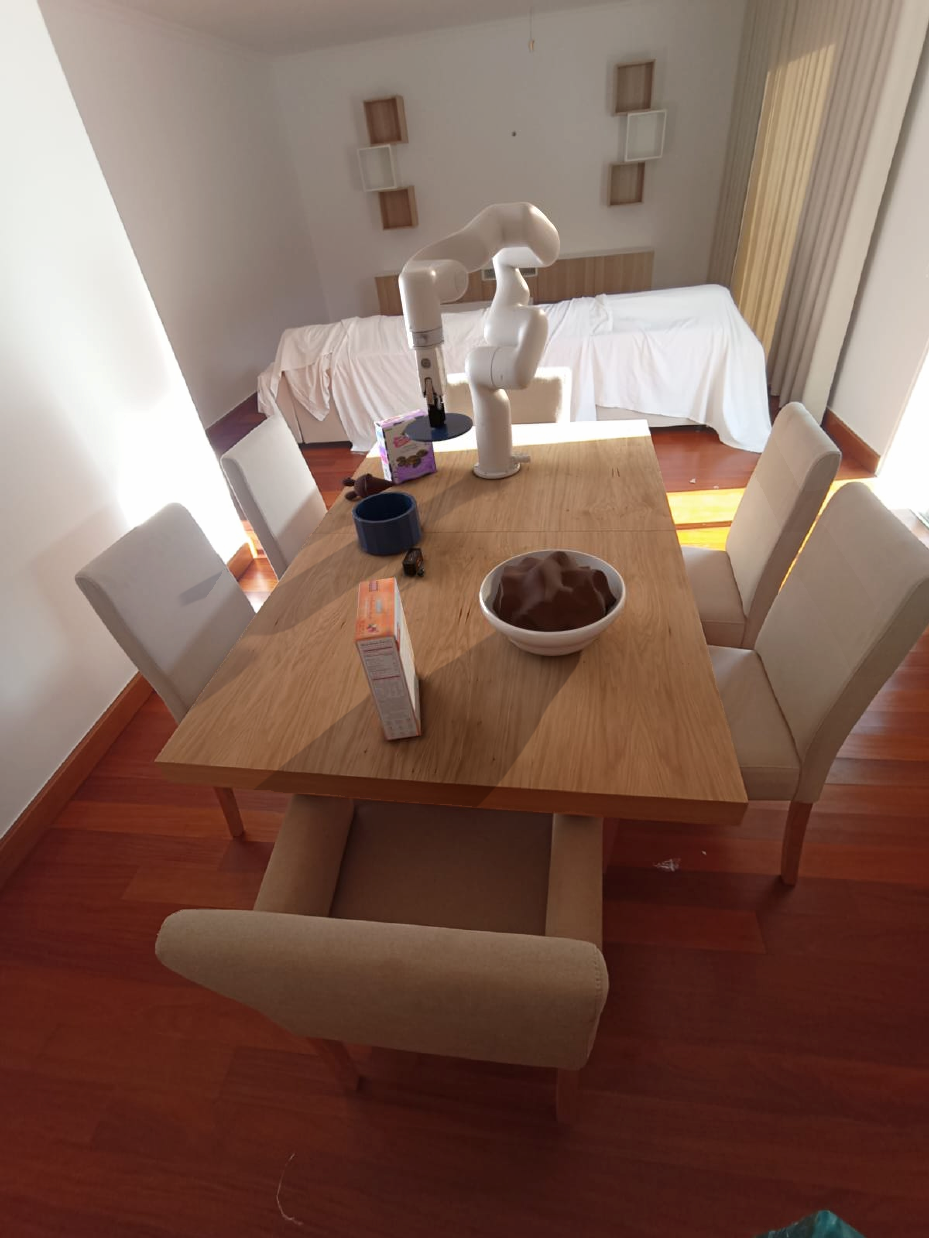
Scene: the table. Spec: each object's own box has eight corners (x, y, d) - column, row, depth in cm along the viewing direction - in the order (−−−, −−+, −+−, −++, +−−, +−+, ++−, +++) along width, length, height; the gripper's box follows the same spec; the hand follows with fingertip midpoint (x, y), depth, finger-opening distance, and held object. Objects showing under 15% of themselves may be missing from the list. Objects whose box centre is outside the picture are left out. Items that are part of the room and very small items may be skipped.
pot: (425, 521, 146) (419, 489, 140) (417, 553, 134) (411, 520, 129) (366, 525, 148) (359, 493, 142) (354, 557, 136) (345, 524, 131)
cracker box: (384, 680, 103) (358, 580, 90) (419, 675, 103) (397, 574, 90) (383, 742, 92) (352, 639, 79) (421, 737, 92) (397, 633, 79)
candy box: (392, 486, 163) (381, 427, 153) (384, 479, 167) (372, 421, 157) (437, 471, 168) (429, 413, 157) (428, 465, 172) (419, 407, 162)
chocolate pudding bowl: (495, 587, 121) (489, 522, 111) (623, 591, 115) (628, 522, 106) (471, 673, 102) (461, 603, 93) (623, 683, 96) (628, 609, 87)
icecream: (397, 467, 157) (345, 473, 161) (389, 472, 151) (334, 479, 154) (402, 493, 160) (351, 499, 164) (394, 499, 153) (340, 505, 157)
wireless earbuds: (402, 578, 127) (400, 565, 125) (412, 560, 132) (409, 547, 131) (423, 579, 126) (421, 566, 124) (432, 560, 131) (430, 548, 129)
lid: (475, 415, 141) (472, 386, 137) (471, 441, 129) (467, 411, 125) (410, 421, 143) (405, 392, 139) (400, 447, 131) (394, 417, 127)
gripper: (439, 346, 117) (451, 436, 129) (447, 325, 130) (457, 409, 141) (402, 350, 118) (417, 439, 130) (413, 329, 131) (426, 412, 142)
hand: (438, 423), depth 135 cm, fingers closed on lid, 2 cm apart
